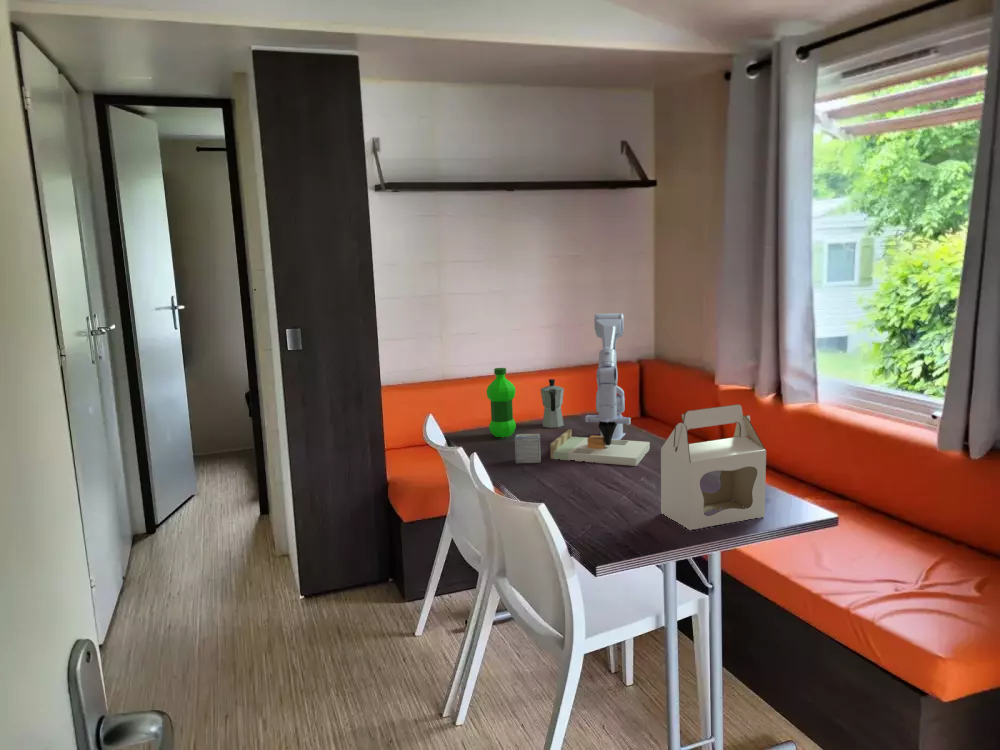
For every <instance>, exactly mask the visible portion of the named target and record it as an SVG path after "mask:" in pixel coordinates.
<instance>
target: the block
mask: <svg viewBox="0 0 1000 750" xmlns="http://www.w3.org/2000/svg"><path fill="white" fill-rule="evenodd" d="M587 438H588V439H587V440H588V448H596V449H603V448H604V447H605V446H606V445H605V440H604V437H603V436H600V435H590V436H589V437H587Z"/></svg>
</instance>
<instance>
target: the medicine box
mask: <svg viewBox="0 0 1000 750" xmlns="http://www.w3.org/2000/svg"><path fill="white" fill-rule="evenodd" d="M514 445H515V446H514V449H515V450H514V452H515V464H540V463H541V461H542V457H541V456H542V454H541V453H542V451H541V434H540V433H519V434H518V433H517V434H515V437H514Z"/></svg>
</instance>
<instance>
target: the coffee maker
mask: <svg viewBox="0 0 1000 750" xmlns="http://www.w3.org/2000/svg"><path fill="white" fill-rule="evenodd" d="M555 382H556V380H555V379H554V378H551V379H548V383H549V385H547V386H543V387H541V388H540V394H541V401H542V406H543V407H544V409H543V417H542V425H543V426H542V428H543V427H549V428H550V427H561V426H564V427H565V424H564V418H563V412H562V405H563V401H564V392H565V391H564V390H565V388H564V387H561V386H559V385H555ZM561 428H562V427H561Z"/></svg>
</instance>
